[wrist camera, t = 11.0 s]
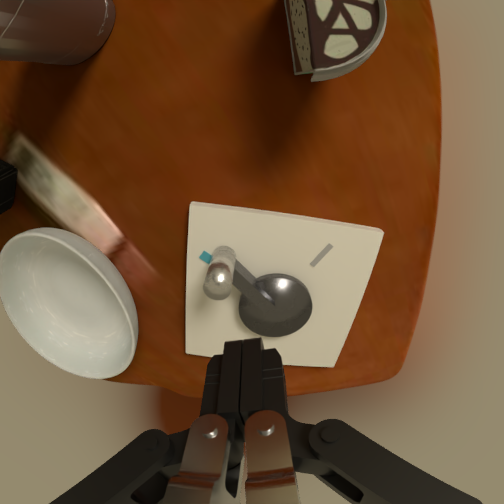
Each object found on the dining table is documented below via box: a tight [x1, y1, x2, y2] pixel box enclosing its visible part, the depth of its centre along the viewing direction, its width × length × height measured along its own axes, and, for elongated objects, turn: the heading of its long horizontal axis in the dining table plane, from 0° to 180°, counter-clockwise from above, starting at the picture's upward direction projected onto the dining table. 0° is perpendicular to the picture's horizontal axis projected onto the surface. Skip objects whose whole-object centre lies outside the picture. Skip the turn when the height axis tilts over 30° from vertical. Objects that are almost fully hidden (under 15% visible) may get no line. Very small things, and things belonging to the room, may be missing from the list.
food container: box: [284, 0, 387, 82], centre depth 17 cm, size 12×6×10 cm, turn 6°
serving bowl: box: [0, 228, 138, 379], centre depth 32 cm, size 21×21×7 cm
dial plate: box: [186, 201, 384, 367], centre depth 34 cm, size 20×20×1 cm
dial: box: [203, 246, 312, 337], centre depth 30 cm, size 13×8×6 cm, turn 42°
